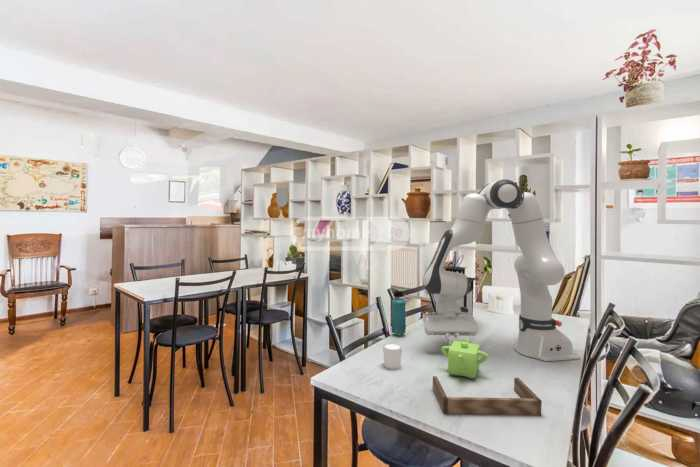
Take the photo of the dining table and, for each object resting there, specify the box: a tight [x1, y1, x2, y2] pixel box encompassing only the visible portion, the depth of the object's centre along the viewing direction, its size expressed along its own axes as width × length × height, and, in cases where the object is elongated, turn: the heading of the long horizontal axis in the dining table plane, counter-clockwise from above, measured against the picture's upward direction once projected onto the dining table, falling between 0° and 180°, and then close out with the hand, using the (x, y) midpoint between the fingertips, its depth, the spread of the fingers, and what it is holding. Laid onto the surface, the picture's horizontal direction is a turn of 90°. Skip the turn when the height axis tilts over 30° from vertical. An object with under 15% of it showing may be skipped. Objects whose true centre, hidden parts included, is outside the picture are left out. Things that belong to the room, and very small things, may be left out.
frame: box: [432, 375, 543, 416], centre depth 105 cm, size 26×14×4 cm, turn 89°
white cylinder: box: [382, 343, 403, 370], centre depth 129 cm, size 7×7×7 cm
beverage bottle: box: [390, 290, 407, 335], centre depth 162 cm, size 6×7×20 cm
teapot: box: [440, 337, 489, 380], centre depth 124 cm, size 15×13×11 cm
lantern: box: [434, 254, 478, 317], centre depth 176 cm, size 17×17×35 cm
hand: (453, 345), depth 137 cm, fingers closed
